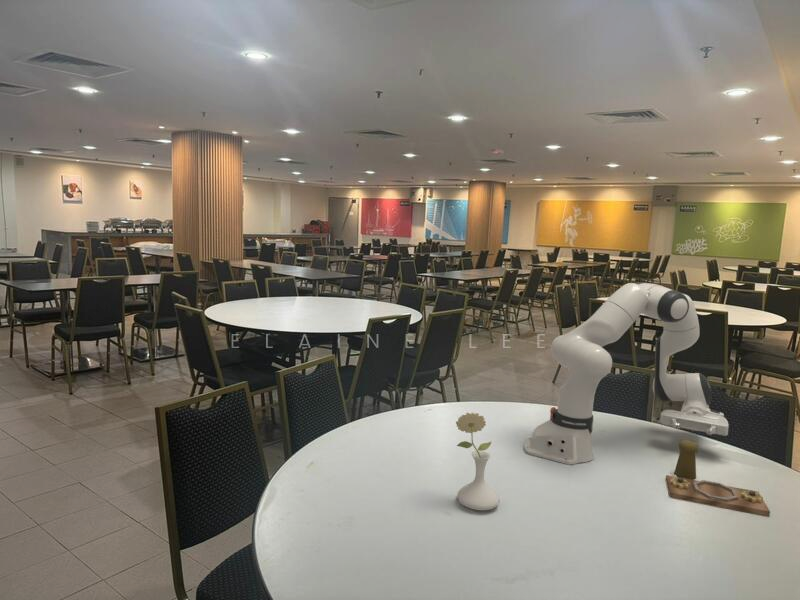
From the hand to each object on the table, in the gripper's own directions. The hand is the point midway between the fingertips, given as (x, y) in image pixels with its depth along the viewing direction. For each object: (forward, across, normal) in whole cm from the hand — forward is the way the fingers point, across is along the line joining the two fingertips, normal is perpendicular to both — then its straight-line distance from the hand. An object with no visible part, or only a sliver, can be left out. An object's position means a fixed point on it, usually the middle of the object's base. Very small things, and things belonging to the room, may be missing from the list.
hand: (692, 429), depth 176 cm
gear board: (+23, +8, +11) cm, 27 cm away
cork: (+12, 0, +11) cm, 17 cm away
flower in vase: (+66, -48, +10) cm, 83 cm away
